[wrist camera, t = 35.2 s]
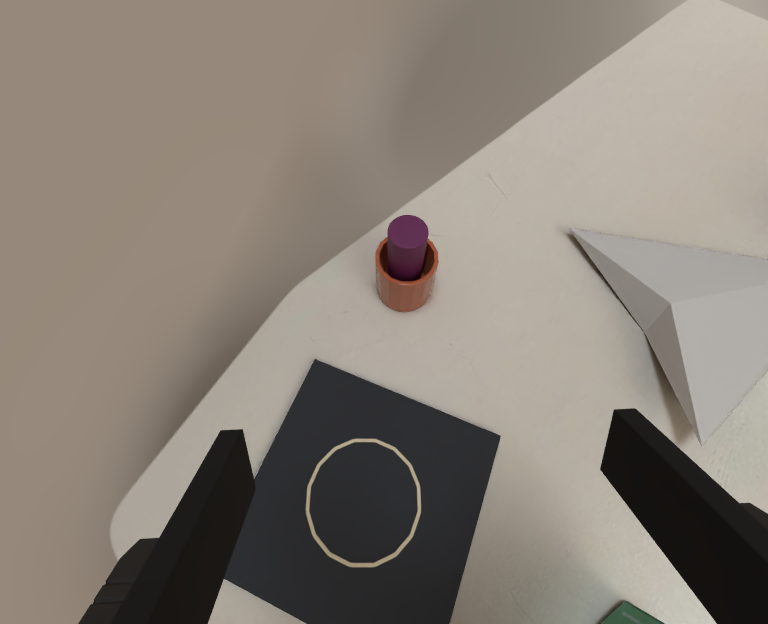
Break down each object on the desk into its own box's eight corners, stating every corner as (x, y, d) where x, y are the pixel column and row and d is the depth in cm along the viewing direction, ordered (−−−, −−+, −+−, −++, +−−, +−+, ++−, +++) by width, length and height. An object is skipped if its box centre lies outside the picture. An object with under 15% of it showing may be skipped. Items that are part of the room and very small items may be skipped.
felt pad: (211, 568, 32) (207, 570, 31) (315, 360, 39) (314, 358, 38) (430, 687, 28) (430, 692, 28) (499, 436, 36) (501, 435, 35)
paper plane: (927, 383, 37) (988, 374, 34) (672, 449, 35) (707, 446, 31) (771, 191, 47) (804, 167, 43) (564, 233, 45) (580, 211, 41)
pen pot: (368, 300, 42) (365, 272, 36) (389, 257, 44) (389, 223, 38) (419, 319, 41) (425, 293, 35) (438, 274, 43) (446, 242, 37)
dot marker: (382, 293, 41) (381, 240, 32) (394, 268, 43) (396, 209, 33) (412, 304, 41) (420, 253, 31) (423, 278, 42) (434, 221, 33)
